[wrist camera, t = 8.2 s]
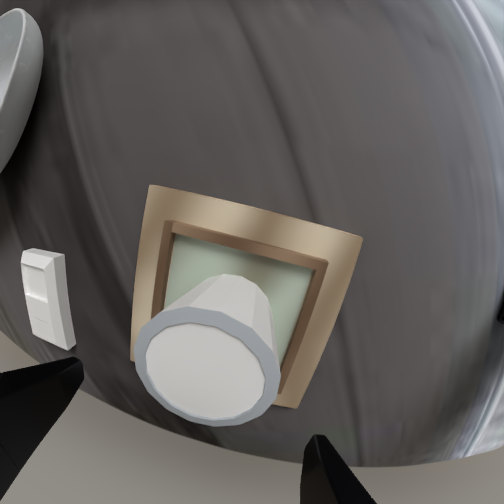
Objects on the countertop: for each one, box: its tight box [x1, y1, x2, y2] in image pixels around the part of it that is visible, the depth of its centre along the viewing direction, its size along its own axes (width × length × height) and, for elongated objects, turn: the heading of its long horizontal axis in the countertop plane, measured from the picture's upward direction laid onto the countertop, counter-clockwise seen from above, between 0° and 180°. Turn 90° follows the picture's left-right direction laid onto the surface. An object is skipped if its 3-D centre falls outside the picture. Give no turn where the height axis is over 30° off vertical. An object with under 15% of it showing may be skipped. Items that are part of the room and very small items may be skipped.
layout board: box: [130, 185, 363, 409], centre depth 18 cm, size 14×14×2 cm
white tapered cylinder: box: [134, 274, 281, 427], centre depth 14 cm, size 7×7×7 cm
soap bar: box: [21, 248, 76, 350], centre depth 20 cm, size 5×9×3 cm, turn 174°
